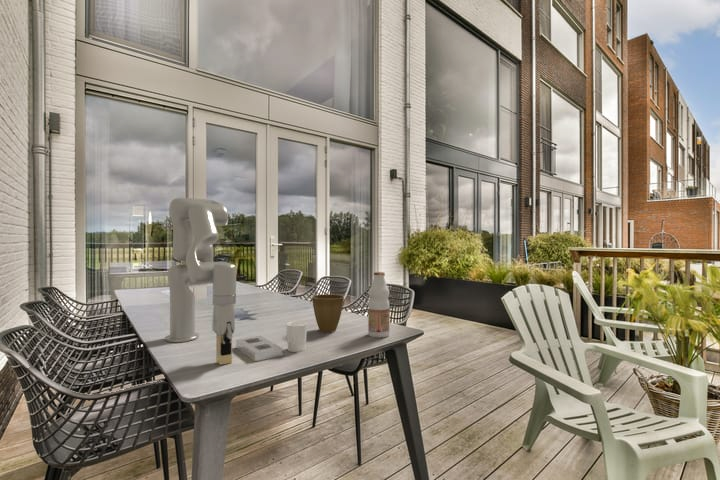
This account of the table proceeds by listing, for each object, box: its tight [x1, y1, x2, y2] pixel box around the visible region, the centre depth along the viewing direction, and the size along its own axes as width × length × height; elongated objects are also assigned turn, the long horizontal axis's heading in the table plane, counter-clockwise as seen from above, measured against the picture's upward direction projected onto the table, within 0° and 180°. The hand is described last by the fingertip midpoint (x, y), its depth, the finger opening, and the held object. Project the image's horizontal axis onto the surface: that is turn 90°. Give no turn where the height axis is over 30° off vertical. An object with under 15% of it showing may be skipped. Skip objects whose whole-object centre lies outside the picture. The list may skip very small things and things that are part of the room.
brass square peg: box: [215, 332, 233, 366], centre depth 124 cm, size 5×5×11 cm
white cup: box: [285, 320, 308, 353], centre depth 139 cm, size 8×8×10 cm
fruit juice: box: [367, 271, 391, 339], centre depth 160 cm, size 9×9×28 cm
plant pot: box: [311, 293, 345, 333], centre depth 168 cm, size 15×15×16 cm
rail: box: [235, 335, 283, 362], centre depth 136 cm, size 20×10×3 cm, turn 37°
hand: (223, 352), depth 124 cm, fingers closed on brass square peg, 4 cm apart
